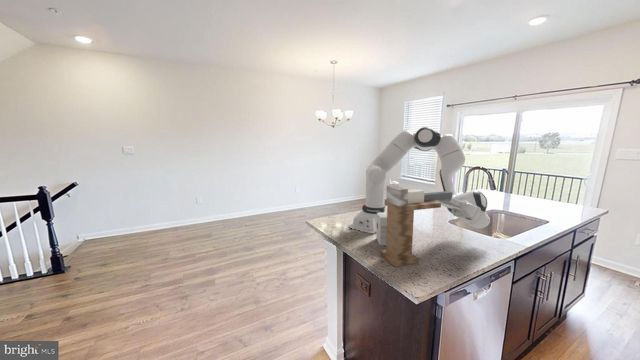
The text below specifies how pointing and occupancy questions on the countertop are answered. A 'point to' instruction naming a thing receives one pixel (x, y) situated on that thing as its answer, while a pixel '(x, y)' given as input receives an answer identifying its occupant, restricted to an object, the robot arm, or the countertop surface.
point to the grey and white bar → (426, 196)
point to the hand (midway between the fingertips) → (442, 197)
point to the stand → (401, 225)
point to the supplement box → (381, 228)
